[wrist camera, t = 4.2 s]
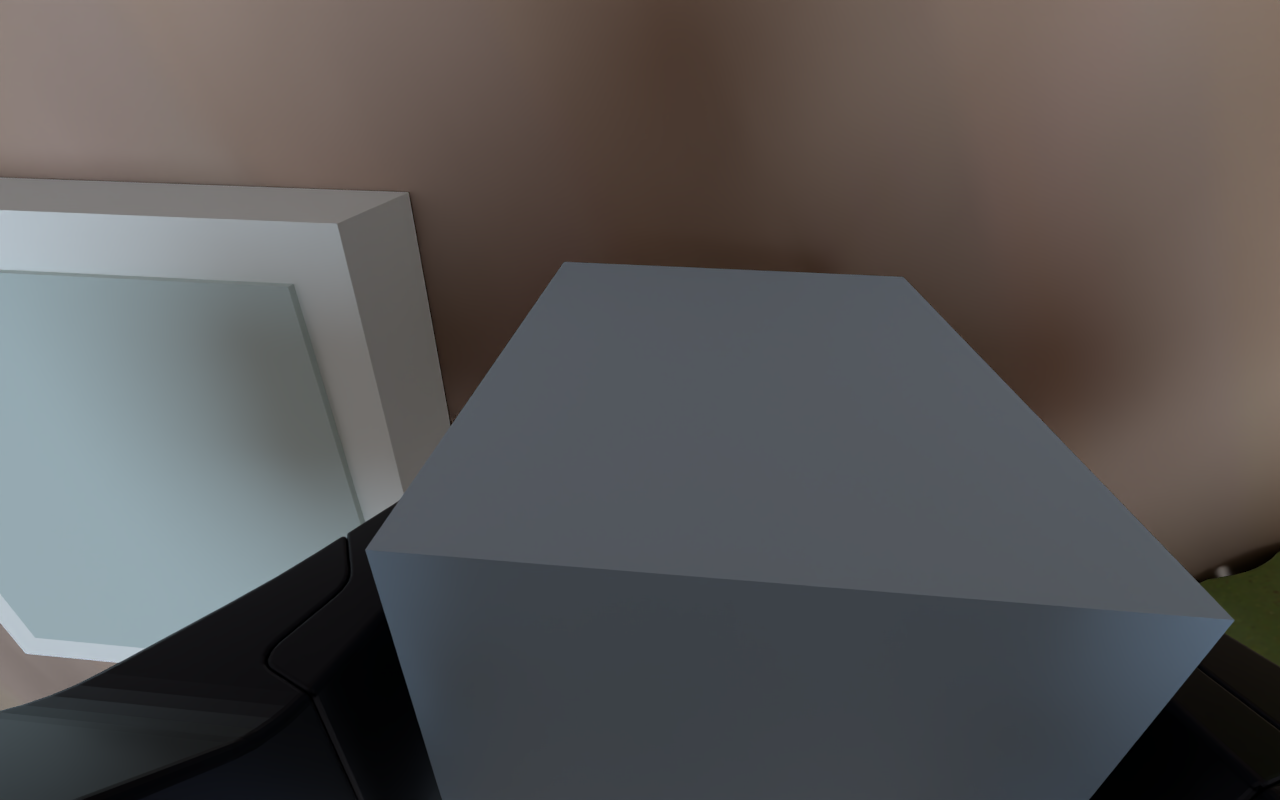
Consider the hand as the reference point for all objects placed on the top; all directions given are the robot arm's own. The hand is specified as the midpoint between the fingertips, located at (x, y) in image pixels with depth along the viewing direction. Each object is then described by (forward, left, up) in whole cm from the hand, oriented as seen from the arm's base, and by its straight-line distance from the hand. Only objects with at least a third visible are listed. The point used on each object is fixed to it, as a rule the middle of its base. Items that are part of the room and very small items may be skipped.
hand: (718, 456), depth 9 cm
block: (0, 0, -1) cm, 1 cm away
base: (-3, +12, -4) cm, 13 cm away
